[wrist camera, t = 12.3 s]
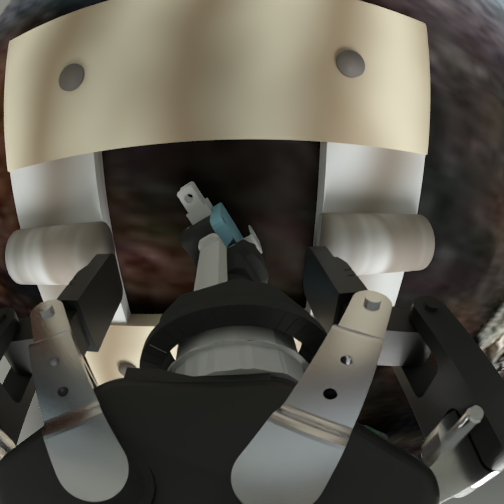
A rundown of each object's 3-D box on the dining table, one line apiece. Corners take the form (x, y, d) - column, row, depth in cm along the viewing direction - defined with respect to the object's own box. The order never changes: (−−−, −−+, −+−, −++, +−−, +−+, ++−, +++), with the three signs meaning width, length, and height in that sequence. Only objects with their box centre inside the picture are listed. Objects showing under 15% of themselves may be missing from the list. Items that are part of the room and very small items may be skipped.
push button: (146, 208, 14) (49, 346, 5) (236, 153, 13) (262, 224, 4) (214, 301, 17) (213, 463, 8) (295, 260, 16) (364, 413, 7)
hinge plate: (414, 27, 10) (447, 17, 7) (361, 375, 21) (374, 403, 18) (20, 43, 8) (-12, 37, 5) (92, 384, 19) (82, 413, 17)
